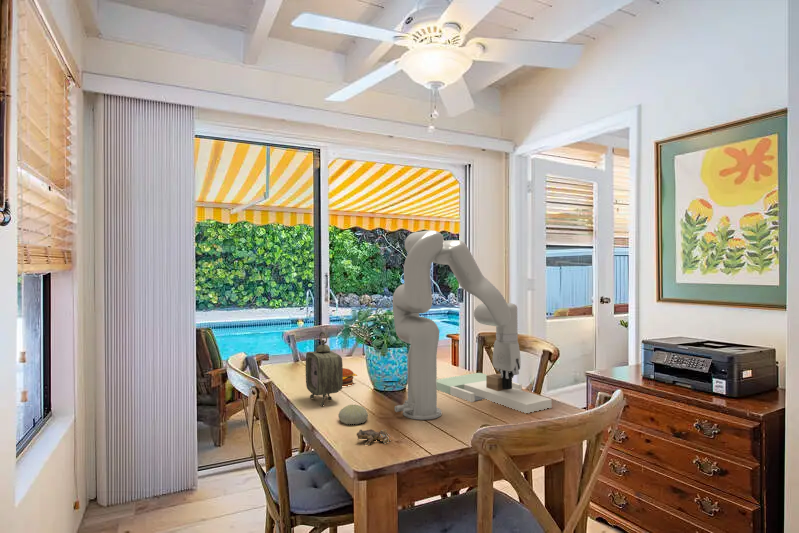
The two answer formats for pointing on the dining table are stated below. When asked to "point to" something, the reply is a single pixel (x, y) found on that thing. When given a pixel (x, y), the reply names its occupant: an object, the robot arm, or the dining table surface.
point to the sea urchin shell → (353, 414)
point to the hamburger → (347, 377)
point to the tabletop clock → (323, 371)
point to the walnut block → (494, 382)
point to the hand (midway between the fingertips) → (507, 388)
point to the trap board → (492, 393)
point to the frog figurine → (373, 436)
